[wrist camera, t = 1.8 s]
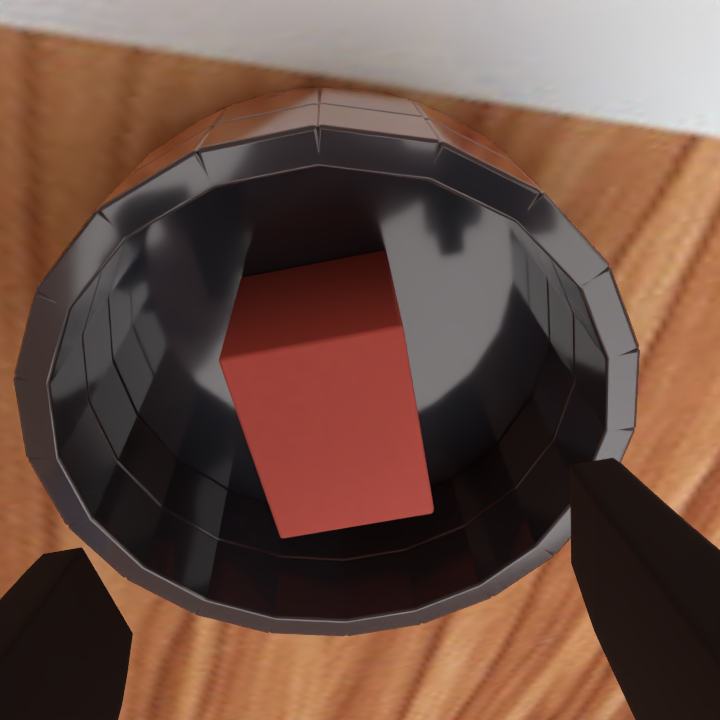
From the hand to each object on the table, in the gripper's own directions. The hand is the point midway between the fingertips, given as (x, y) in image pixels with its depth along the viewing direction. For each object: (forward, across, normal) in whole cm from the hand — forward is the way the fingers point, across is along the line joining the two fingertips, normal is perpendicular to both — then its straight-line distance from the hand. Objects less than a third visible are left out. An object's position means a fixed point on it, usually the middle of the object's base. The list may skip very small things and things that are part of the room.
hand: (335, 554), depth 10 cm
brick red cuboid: (+6, 0, 0) cm, 6 cm away
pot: (+7, 0, 0) cm, 7 cm away
